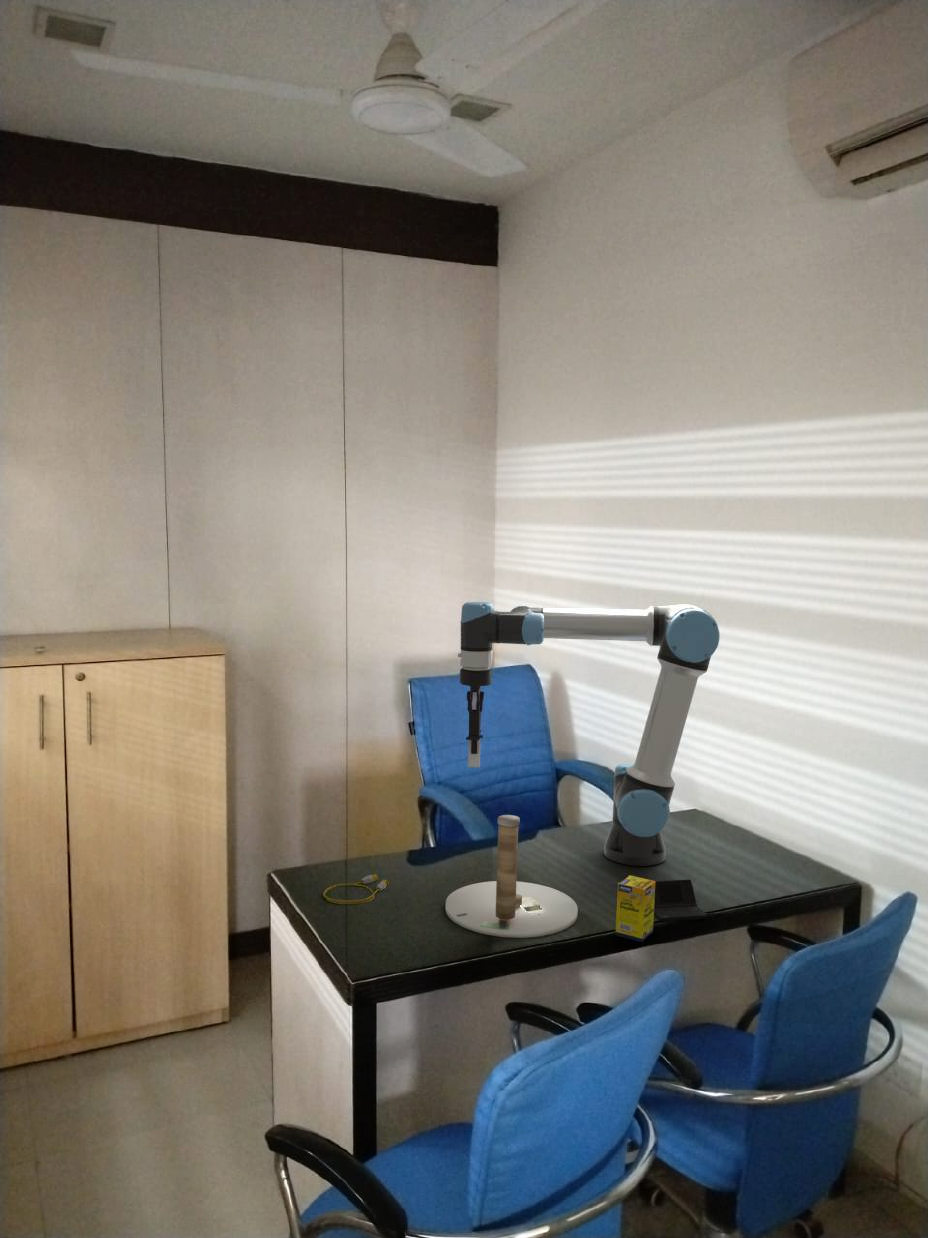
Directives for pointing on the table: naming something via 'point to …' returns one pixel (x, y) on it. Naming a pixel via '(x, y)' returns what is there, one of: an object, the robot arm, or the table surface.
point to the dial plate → (479, 910)
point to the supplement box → (635, 908)
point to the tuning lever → (507, 869)
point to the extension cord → (365, 880)
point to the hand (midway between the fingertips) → (474, 766)
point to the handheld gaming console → (676, 901)
